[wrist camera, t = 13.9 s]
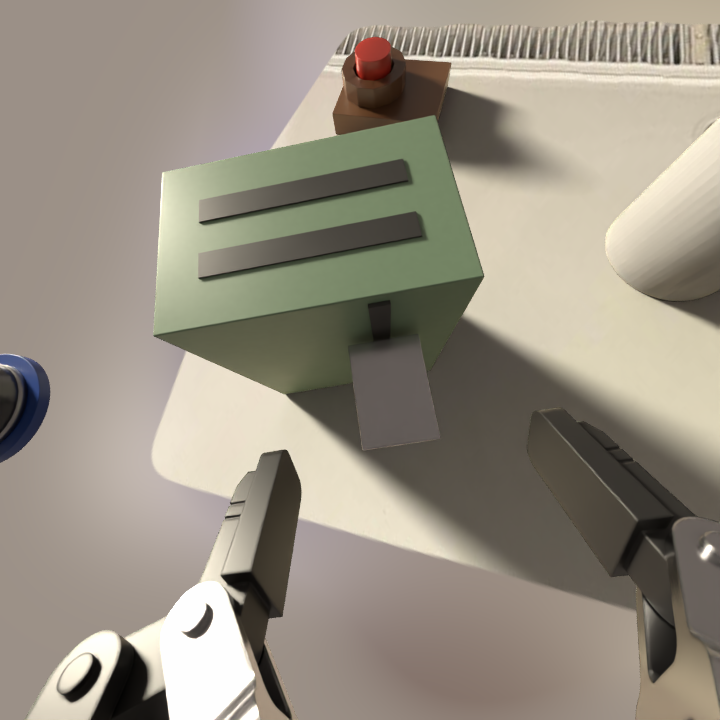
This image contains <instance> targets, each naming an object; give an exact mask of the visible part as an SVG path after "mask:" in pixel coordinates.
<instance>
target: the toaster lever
mask: <svg viewBox="0 0 720 720" xmlns="http://www.w3.org/2000/svg"><path fill="white" fill-rule="evenodd" d="M348 352H349V359H350V366H351V373H352V380H353V388H354V395H355V402H356V409H357V416H358V423H359V430H360V437H361V444H362V450H371V449H378V448H384V447H391V446H397V445H404V444H411V443H417V442H424V441H430V440H437V439H441V436H440V431H439V427H438V422H437V417H436V413H435V408H434V404H433V399H432V394H431V390H430V385H429V381H428V376H427V371H426V367H425V362H424V358H423V353H422V348H421V344H420V339H419V335H418V334H412V335H406V336H401V337H395V338H389V339H383V340H377V341H371V342H366V343H360V344H354V345H349V346H348Z"/></svg>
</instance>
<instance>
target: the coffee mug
mask: <svg viewBox="0 0 720 720" xmlns="http://www.w3.org/2000/svg"><path fill="white" fill-rule="evenodd" d="M605 249H606V254H607V257H608V260H609V262H610V264H611V265H612V267H613V269H614V270H615V271H616V273H617V274H618V275H619V276H620V277H621V278H622V279H623V280H624V281H625V282H626V283H627V284H629V285H630V286H632V287H633V288H635V289H636V290H638V291H640V292H642V293H644V294H647V295H649V296H652V297H655V298H659V299H663V300H669V301H690V300H695V299H700V298H703V297H705V296H708V295H710V294H712V293H714V292H716V291H719V290H720V117H719V118H718V119H717V120H716V121H715V122H714V123H713V124H712V125H711V126H710V127H709V128H708V129H707V130H706V131H705V132H704V133H703V134H702V135H701V136H700V137H699V138H698V139H697V140H696V141H695V142H694V143H693V144H692V145H691V146H690V147H689V148H688V149H687V150H686V151H685V152H684V153H683V154H682V155H681V156H680V157H679V158H678V159H677V160H676V161H675V162H673V163H672V164H671V165H670V166H669V167H668V168H667V169H666V170H665V171H664V172H663V173H662V174H661V175H660V176H659V177H658V178H657V179H656V180H655V181H654V182H653V183H652V184H651V185H650V186H649V187H648V188H647V189H646V190H645V191H644V192H643V193H642V194H641V195H640V196H639V197H638V198H637V199H636V200H635V201H634V202H633V203H632V204H631V205H630V206H629V207H628V208H626V209H625V210H624V211H623V212H622V213H621V214H620V215H619V216H618V217H617V218H616V219H615V220H614V221H613V223H612V224H611V226H610V227H609V229H608V231H607V234H606V240H605Z"/></svg>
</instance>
